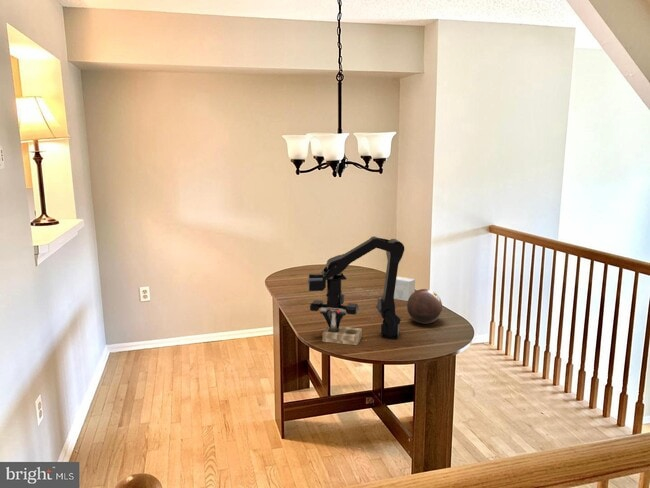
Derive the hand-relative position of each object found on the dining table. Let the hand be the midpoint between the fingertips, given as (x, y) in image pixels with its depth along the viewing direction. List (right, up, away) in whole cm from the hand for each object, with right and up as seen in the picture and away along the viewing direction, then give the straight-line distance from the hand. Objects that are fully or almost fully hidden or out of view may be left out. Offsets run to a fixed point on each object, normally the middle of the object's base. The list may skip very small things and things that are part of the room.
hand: (334, 327), depth 193 cm
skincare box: (+36, +5, +53) cm, 65 cm away
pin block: (+3, -5, 0) cm, 6 cm away
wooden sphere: (+40, -1, +19) cm, 44 cm away
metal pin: (0, -3, +1) cm, 3 cm away
